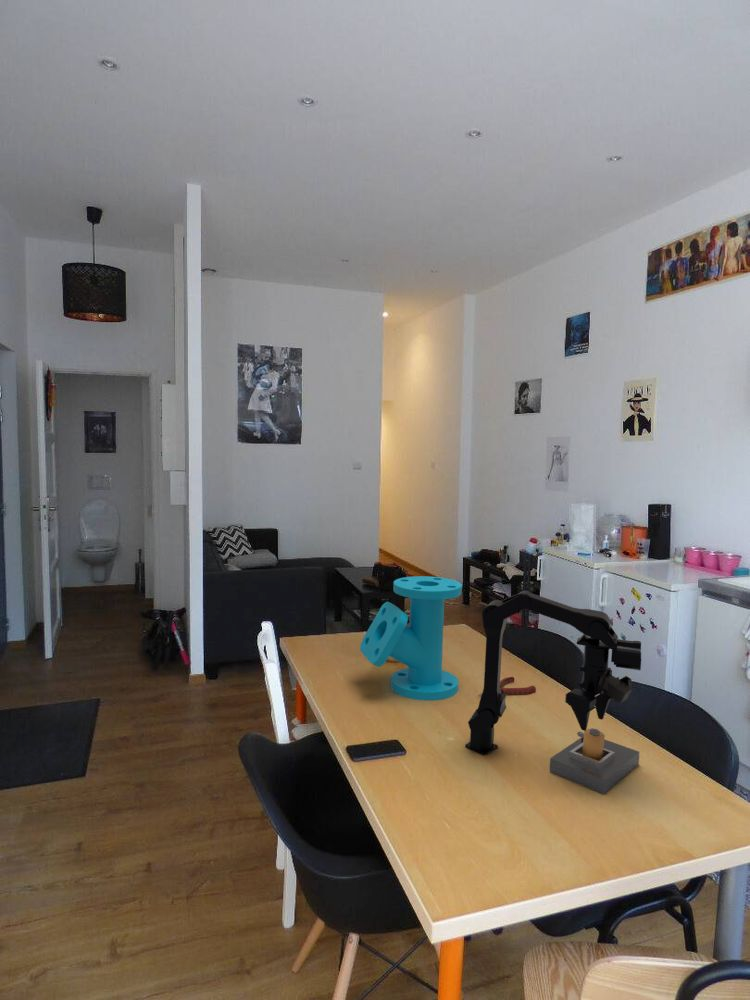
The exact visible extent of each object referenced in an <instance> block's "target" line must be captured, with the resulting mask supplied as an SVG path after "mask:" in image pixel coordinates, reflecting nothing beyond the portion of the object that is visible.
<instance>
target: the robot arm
mask: <svg viewBox="0 0 750 1000" xmlns="http://www.w3.org/2000/svg"><path fill="white" fill-rule="evenodd" d="M523 610H526V611H530V612H533V613H536V614H539V615H542V616H544V617H546V618H550V619H553V620H556V621H559V622H561V623H564V624H567V625H569V626H571V627H573V628H574V629H576V630H577V631H579V632H580V633H581V634H582V635H581V636H580V637H578V638H577V640H576V645H577V646H584V648H583V649H584V651H583V664H582V665H580V667H579V671H580V672H582V680H581V681H579V682H578V686H579V688H575V689H574V688H573V690H570V691H569V692H567V693H566V694H565V699H564V701H565V704H567V705H568V706H570V708H571V709H572V711H573V713H574V715H575V718H576V720H577V723H578V725H579V727H580V729H581V730H582V731H586V730H587V729H588V724H589V719H590V713H591V712H592V711H594V709H595V710H596V715H597V718H598V719H599V720H604V717H605V715H606V712H607V709H608V707H609V705H610V702H611V699H612V700H614V701H615V702H616V703H618V704H622V703H623V702H625V701H627V699H628V698H629V696H630V693H632V692H633V691H634V690H633V686H632V685H633V683H632V678H631V677H629V676H628V675H625V676H623V677H621V678H620V677H618V676H617V677H616V676H613V670H612V668H611V667H609V657H611V658H610V659H611V660H610V662H611V663H613V665H614V666H615V668H621V669H627V670H634V671H635V670H636V671H641V669H642V642H641V640H640V641H639V640H626V639H621V638H620V639H619V636H618V634H617V633H616V631H614V629H613V627H612V626H611V624H612V623H611V622H612V621H611V619H610V617H609V615H608V614H607V613H606V612H604V611H600V610H595V609H589V608H578V607H573V606H571V605H567V604H564V603H561V602H558V601H555V600H552V599H551V598H546V597H543V596H540V595H538V594H534V593H532V592H530V591H528V590H522V591H520V592H519V593H517V594H514V595H511V596H510V597H507V598H505V599H503V600H499V599H495V600H492V601H491V602H489V604H487V605H486V607H485V608H484V609H483V610H482V612H481V613H482V614H481V619H482V627H483V630H484V634H485V638H486V639H485V656H484V674H483V675H484V678H483V690H482V692H481V693H482V696H480V699H479V703H478V707H477V709H475V710H474V712H473V714H472V716H471V717H470V718H469V720H468V722H467V723H468V728H469V729H470V737H469V738H470V739H469V742H467V743H466V744H465V746H464V747H465V748H467V749H470V750H471V751H474V752H476V753H478V754H481V755H483V756H486V755H488V754H489V753H491V752H493V751H494V750H496V749H498V748H499V745H498V744H496V743H494V740H495V736H494V735H495V725H496V724H497V723H498V722H499V720H500V718H502V716H503V714H504V712H505V711H506V709H507V704H506V699H507V696H508V695H507V694H502V693H501V690H500V681H501V672H502V671H501V669H502V668H501V667H502V666H501V665H502V651H503V648H502V647H503V635H504V633H505V629H506V625H507V623H508V618H510V617H512V616H513V615H516V614H517V613H518V612H520V611H523ZM610 650H611V656H610ZM580 688H582V689H583V690H582V689H580Z"/></svg>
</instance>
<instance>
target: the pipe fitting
mask: <svg viewBox="0 0 750 1000" xmlns="http://www.w3.org/2000/svg"><path fill="white" fill-rule="evenodd" d="M392 592H394V593H395V594H396V595H398V596H402V597H405V598H409V616H408V614H407V613H405V612H404V611H403V610H402V609H401V608H400V607H398V606H396V605H395V604H394V603H391V602H389V601H385V602H384V603H383V604H382V605H381V607H380V608H379V610H378V611H377V613H376V616H375V617H374V618H373V621H372V622H371V624H370V625H369V627H368V629H367V631H366V633H365V635H364V636H363V638H362V640H361V642H360V646H359V649H360V650H359V651H360V652H361V653H362V655H363V656H364V657H365V658H366V660H368V661H369V663H370V664H372V665H374V666H375V667H377V668H380V667H382V666H384V665H385V664H386V662H387V660H388V659H389V657H390V658H392V659H394V660H396V661H397V662H399V663H401V664H403V665H405V666H407V668H403V669H399V670H397V671H395V672H394V673H392V675H391V677H390V688H391V690H392V691H393V692H394V693H396V694H397V695H399V696H401V697H405V698H408V699H410V700H418V701H441V700H445V699H449V698H451V697H454V696H455V695H457V693H458V692H459V679H458V677H457V676H456V675H454V674H453V673H450V672H449V671H446V670H443V651H444V650H443V647H444V646H443V644H444V619H445V600H450V599H454V598H458V597H460V596H461V595H462V592H463V584H462V583H461V582H459V581H457V580H455V579H450V578H446V577H439V576H427V575H426V576H425V575H421V576H420V575H419V576H418V575H417V576H406V577H400V578H397V579H395V580H394V581H393V591H392ZM408 620H409V625H408V626H407V623H408Z"/></svg>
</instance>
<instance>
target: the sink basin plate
mask: <svg viewBox="0 0 750 1000" xmlns="http://www.w3.org/2000/svg"><path fill="white" fill-rule="evenodd" d="M583 739H584V738H582V737H580V738H578V739H577V740H575V741H574V742H572V743H571V744H569V745H568V746H566V747H565V748H563V749H562V750H560V751H559V752H557V753H556V754H555V755H553V756H551V757H550V758H549V773H551V774H554V775H557V776H558V777H561V778H564V779H566V780H568V781H570V782H573V783H575V784H578V785H580V786H582V787H585V788H587V789H590V790H592V791H594V792H597V793H599V794H602V795H606V794H607V793H608V792H609V791H610V790H611V789H613V787H615V786H616V785H617V784H619V782H621V781H622V780H623V779H624V778H625V777H627V776H628V775H629V774H630V773H631V772H632V771H634V770H635V769H636V768H637V767H638V766H639V763H640V751H638V750H635V749H632V748H630V747H627V746H624V745H622V744H619V743H616V742H613V741H610V740H609V739H605V738H604V746H603V755H602V759H601V760H599V761H597V760H595V759H592V758H590V757H587V756H584V755H582V748H583Z"/></svg>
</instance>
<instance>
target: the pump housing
mask: <svg viewBox="0 0 750 1000" xmlns="http://www.w3.org/2000/svg"><path fill="white" fill-rule="evenodd" d="M583 731H584V730H583ZM583 731H577V732H576V734H577V736H578V737H580V738H581V737H582V738H584V739H583V748H582V755H584V756H587V757H590V758H592V759H595V760H597V761H599V760H601V759H602V755H603V746H604V739H605V736H606V735H605V734H604V733H603V732H602V731H600V730H599V729H597V728H587V729H586V731H584V732H583Z"/></svg>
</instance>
